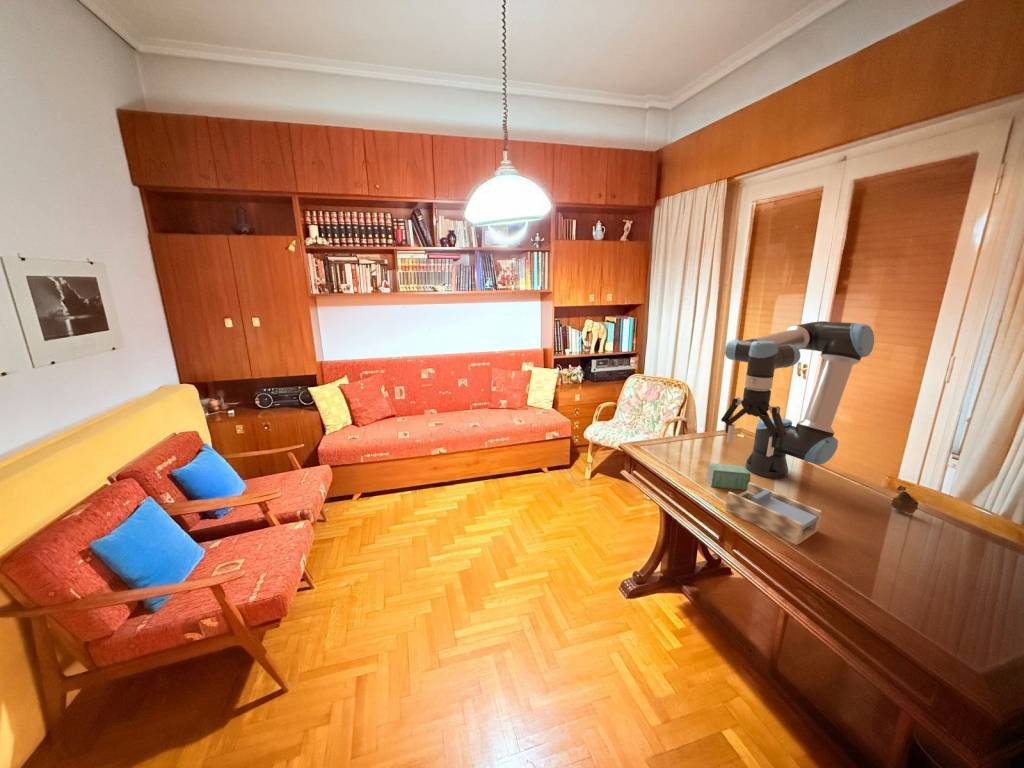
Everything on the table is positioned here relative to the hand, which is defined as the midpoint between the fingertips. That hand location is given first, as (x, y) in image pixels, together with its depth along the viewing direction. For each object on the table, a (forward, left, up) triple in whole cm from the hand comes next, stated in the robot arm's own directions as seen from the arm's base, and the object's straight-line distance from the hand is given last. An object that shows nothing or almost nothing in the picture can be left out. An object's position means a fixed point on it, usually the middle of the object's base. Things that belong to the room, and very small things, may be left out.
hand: (748, 448), depth 131 cm
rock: (-44, +30, -22) cm, 58 cm away
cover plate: (0, +13, -18) cm, 22 cm away
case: (0, +10, -22) cm, 24 cm away
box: (-12, -12, -23) cm, 28 cm away
